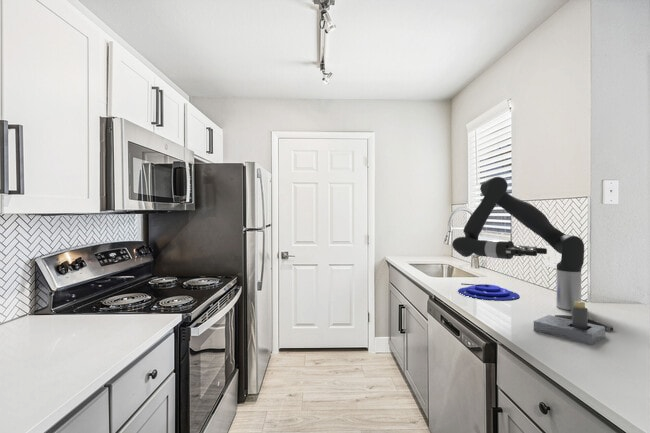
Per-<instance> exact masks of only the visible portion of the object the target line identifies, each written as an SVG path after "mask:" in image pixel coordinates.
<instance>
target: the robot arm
mask: <svg viewBox="0 0 650 433" xmlns="http://www.w3.org/2000/svg"><path fill="white" fill-rule="evenodd" d="M507 191H508V182H507V180H506V179H505V178H504V177H502V176H494V177H491V178H489V179H486V180H485V181H483V182H482V184H481V185H480V193H481V195H482V196H484V197H483V198H482V200H481V202H480V203H479V204H478V206H477V207H476V208H475V209H474V211H473V212H472V213H471V215H470V216H469V218H468V220H467V221H466V224H465V225H464V227H463V230H462V231H463V233H464V236H459V237H457V238H455V239H453V241H452V248H453V250H454V251H456V252H457V253H458V254H459V255H460V256H462V257H464V258H469V257H470V256H472V255H475V256H479V257H486V258H487V257H489V258H493V259H501V260H502V259H503V260H512V259H513V258H514V257H527V256H529V257H537V256H538V254H540V255H541V254H542V255H546V254H548V249H547V248H546V247H545V248H544V247H537V246H536V245H535V246H530V245H522V244H521V245H520V244H518V245H515V244H514V242H513V241H512V240H500V239H491V240H489V239H482V240H481V239H479V235H480V234H481V233H482V229H483V228H484V226H485V224H486V222H487V221H488V219H489V216H490V215H491V213H492V212H493V210H494V209H495V207H496V206H499V207H500V208H502V209H503V210H504V211H505V212H507V213H508V214H510V215H511V216H512V217H513V218H515V219H516V220H517V221H518V222H520V223H521V224H522V225H523V226H524V227H526V228H527V229H529V230H530V231H532V232H533V233H534V234H536V235H537V236H538V237H540V238H541V239H543V240H545V242H546V243H547V244H548V245H549V246H550V247H551V248H552V249H553V250H554V251H555V252H557V253H559V254H560V255H561V259H560V261H559V262H558V263H556V298H555V299H556V308H558V309H561V310H565V311H572V306H574V302H575V301H581V302H582V268H583V266H584V263H585V262H584V261H585V244H584V241H583V239H582V238H581V237H579V236H576V235H570V234H566V233H564V232H562V231H560V230H559V229H558V228H556V227H555V226H554V225H553V224H552V223H551V222H550V220H549V219H548V218H547V216H546V214H544V213H543V212H542V211H541V210H540V209H539V208H537V207H536V206H535V205H533V204H531V203H529V202H528V201H524V200H523V199H520V198H517V197H515V196H513V195H511V194H510V193H508V192H507Z"/></svg>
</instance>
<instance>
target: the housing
mask: <svg viewBox="0 0 650 433" xmlns="http://www.w3.org/2000/svg"><path fill="white" fill-rule="evenodd" d="M533 331H535V332H538V333H541V334H542V333H543V334H546V335H550V336H555V337H559V338H563V339H565V340H571V341H574V342H577V343H578V342H579V343H582V344H586V345H591V346H593V345H595V344H596V343H598V342H599V341H600V340H602V339H604V338H605V337H606V331H605V327H604V326H599V325H594V324H590V323H588V330H584V329H579V328H575V327H572V320H571V319H566V318H561V317H556V316H555V315H552V314H547V315H545V316H542V317H540V318H538V319H535V320H533Z"/></svg>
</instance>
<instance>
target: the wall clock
mask: <svg viewBox="0 0 650 433" xmlns="http://www.w3.org/2000/svg"><path fill="white" fill-rule="evenodd" d="M461 285H462V286H463V285H464V286H467V287H461V288H458V290H457V292H459V293H461V294H463V295H465V296H464V297H466V296H469V297H468V298H470V297H472V298H471V299H475V298H477V300H482V299H483V300H484V301H491V300H494V301H495V302H504V301H505V302H507V301H509V302H510V301H515V300H519V299H520V296H521V295H520V294H519V293H517V292H516V291H515V292H514V291H511V290H509V289H507V288H504V287H500V286H499V285H495V284H486V283H484V284H483V283H482V284H480V283H479V284H476V283H475V284H472V283H461ZM459 293H458V294H459ZM461 294H460V295H461ZM463 295H462V296H463ZM483 300H482V301H483ZM494 301H493V302H494Z"/></svg>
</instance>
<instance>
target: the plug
mask: <svg viewBox="0 0 650 433" xmlns="http://www.w3.org/2000/svg"><path fill="white" fill-rule="evenodd" d="M585 303H586V302H584V301H582V300H581V301H575V302H574V306H572V310H571V316H572V327H575V328H579V329H584V330H588V318H589V316H588V315H589V312H588V311H589V309H588V308H587V307H586V304H585Z"/></svg>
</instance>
